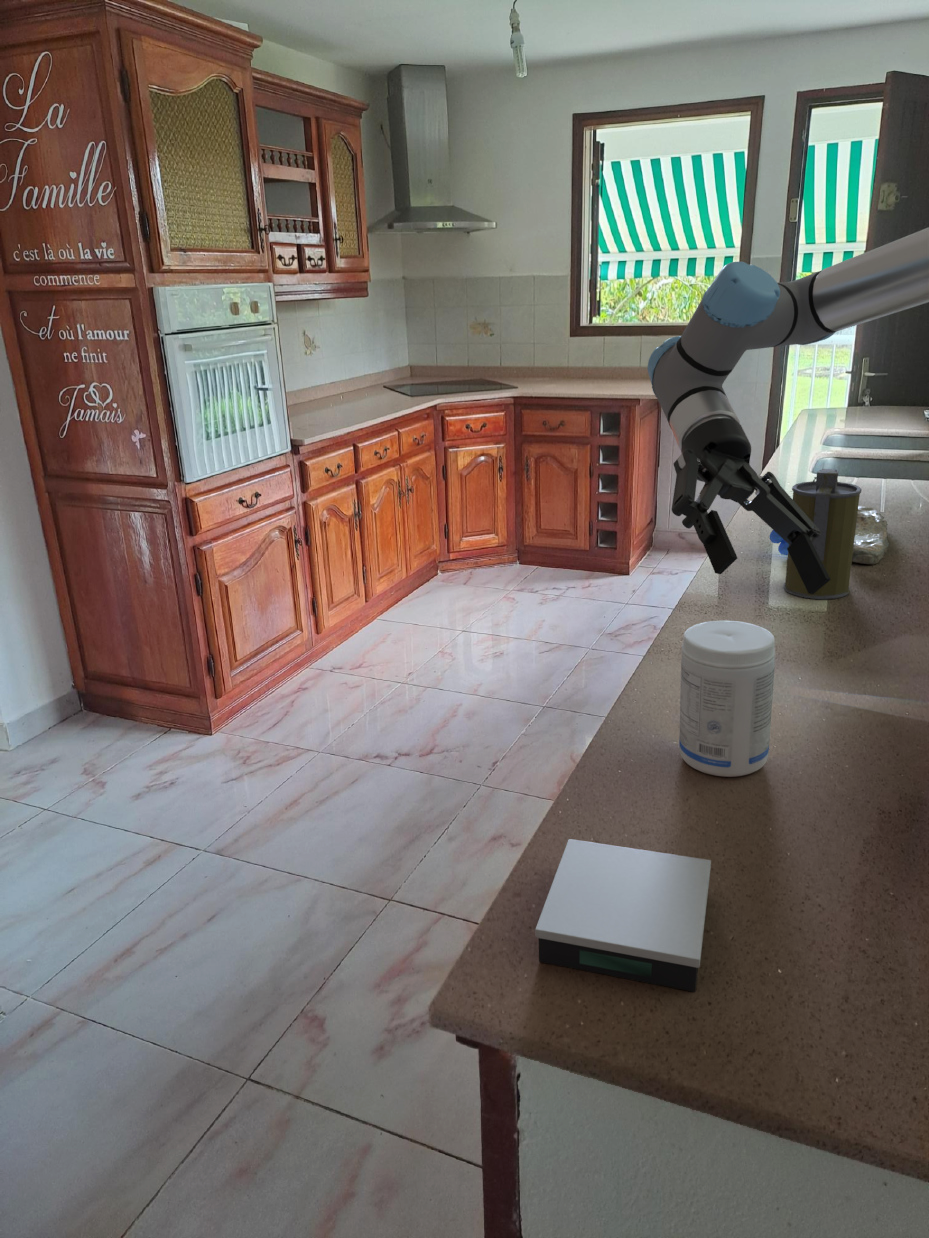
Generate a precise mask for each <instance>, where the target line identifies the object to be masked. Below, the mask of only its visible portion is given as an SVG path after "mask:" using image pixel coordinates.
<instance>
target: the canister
mask: <svg viewBox="0 0 929 1238" xmlns="http://www.w3.org/2000/svg"><path fill="white" fill-rule="evenodd" d="M813 478H814V479H812V481H804V482H799V483H795V484H794V485H792V487H791V490H792V499H793V501H794V502H795V503H796V504H797V505H798V506H799V507H800V508H801V510H802V511H803V512H804V513H805V514H806V515H807V516H808V517H809V519H810V520H811V521H812V522H813V523H814V524H815V525H816V527H817V528H818V529H819V530H820V531H821V535H820V536H818V537H817V538H816V539H815V540H814V541H813V542H812V543H813V545H814V547H815V549H816V551H817V553H818V555H819V557H820V559H821V561H822V563H823V565H824V567H825V569H826V571H827V573H828V575H829V577H830V579H831V580H830V581H829V582H827V583H826V584H825V585H824V586H823V587H821V588H820V589H819V590H818V591H817V592H815V593H814V594H809V593H808V591H807V589H806V587H805V585H804V583H803V581H802V579H801V577H800V575H799V573H798V571H797V569H796V567H795V565H794V563H793V560H792V558H791V556H790V554H789V552H788V555H787V559H786V573H785V581H784V583H783V589H784V591H785V592H787V593H788V594H790V595H793V596H795V597H800V598H803V597H804V598H803V599H809V598H810V600H826V601H827V600H829V601H830V600H837V599H842V598H844V597H846V596H848V595H850V593H851V588H850V579H851V571H852V564H853V562H852V555H853V547H854V538H855V530H856V522H857V513H858V506H860V495H861V493H862V488H861V487H860V486H859V485H856V484H854V483H848V482H842V481H838V480H839V479H838V478H839V470H837V469H834V468H822V469H820V470H818V471H817V472H816V476H814V477H813ZM789 546H790V545H789Z"/></svg>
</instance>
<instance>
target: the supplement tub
mask: <svg viewBox="0 0 929 1238" xmlns="http://www.w3.org/2000/svg"><path fill="white" fill-rule="evenodd" d="M775 645H776V640H775V636H774V634H773V633H772V632H770V631H769V630H768V629H766V628H765V627H762V626H759V625H757V624H753V623H750V622H745V621H737V620H709V621H704V622H701V623H697V624H693V625H692V626H690V627H688V628H687V629H686V630H685V631H684V633H683V641H682V644H681V663H680V693H679V694H680V696H679V730H678V731H679V735H678V738H679V739H678V750H679V754H680V757H681V758H682V760H683V761H684V762H685V763H686V764H687V765H688V766H690V767H691V768H692V769H695V770H697V771H698V772H701V773H704V774H707V775H710V776H716V777H726V778H734V777H742V776H747V775H750V774H753V773H755V772H757V771H759V770H760V769H762V768H763V767H764V766H765V765H766V763H767V761H768V759H769V754H770V753H769V752H770V741H771V740H770V739H771V725H772V723H771V722H772V711H773V696H774V681H775V670H776V669H775V666H776V648H775Z"/></svg>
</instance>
